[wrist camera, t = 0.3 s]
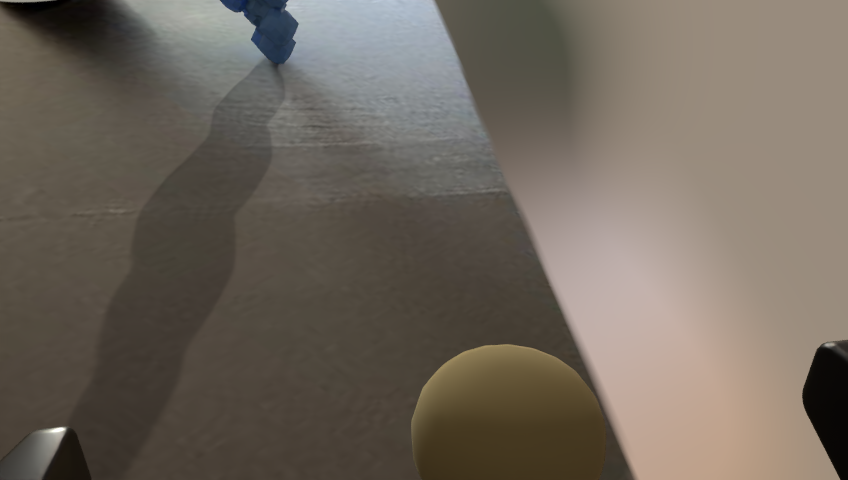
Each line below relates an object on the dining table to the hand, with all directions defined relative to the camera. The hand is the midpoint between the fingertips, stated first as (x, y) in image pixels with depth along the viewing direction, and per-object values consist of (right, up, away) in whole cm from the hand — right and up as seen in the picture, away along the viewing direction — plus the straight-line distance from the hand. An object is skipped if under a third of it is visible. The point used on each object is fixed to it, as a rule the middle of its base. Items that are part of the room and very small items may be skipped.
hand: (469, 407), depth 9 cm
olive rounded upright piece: (+2, -11, +17) cm, 20 cm away
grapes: (-15, +18, +59) cm, 64 cm away
